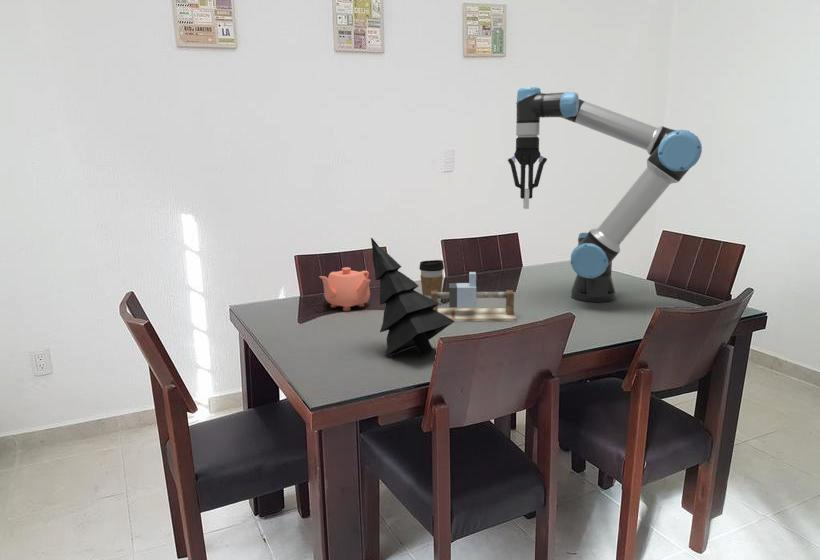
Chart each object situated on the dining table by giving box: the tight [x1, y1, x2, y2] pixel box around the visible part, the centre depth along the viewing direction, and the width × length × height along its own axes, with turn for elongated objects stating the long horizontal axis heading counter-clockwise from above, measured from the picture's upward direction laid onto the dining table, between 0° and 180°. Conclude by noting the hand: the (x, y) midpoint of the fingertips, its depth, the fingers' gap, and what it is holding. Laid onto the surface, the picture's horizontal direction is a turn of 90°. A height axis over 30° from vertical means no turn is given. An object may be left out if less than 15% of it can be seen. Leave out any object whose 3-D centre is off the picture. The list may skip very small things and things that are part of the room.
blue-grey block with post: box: [456, 271, 477, 308], centre depth 198 cm, size 6×6×10 cm
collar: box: [448, 282, 458, 308], centre depth 199 cm, size 2×6×6 cm, turn 178°
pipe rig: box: [431, 289, 518, 323], centre depth 199 cm, size 27×12×8 cm, turn 87°
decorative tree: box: [370, 237, 455, 357], centre depth 167 cm, size 15×15×35 cm
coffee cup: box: [418, 259, 445, 306], centre depth 215 cm, size 8×8×15 cm
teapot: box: [319, 266, 371, 312], centre depth 213 cm, size 16×17×14 cm
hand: (526, 208), depth 211 cm, fingers closed
